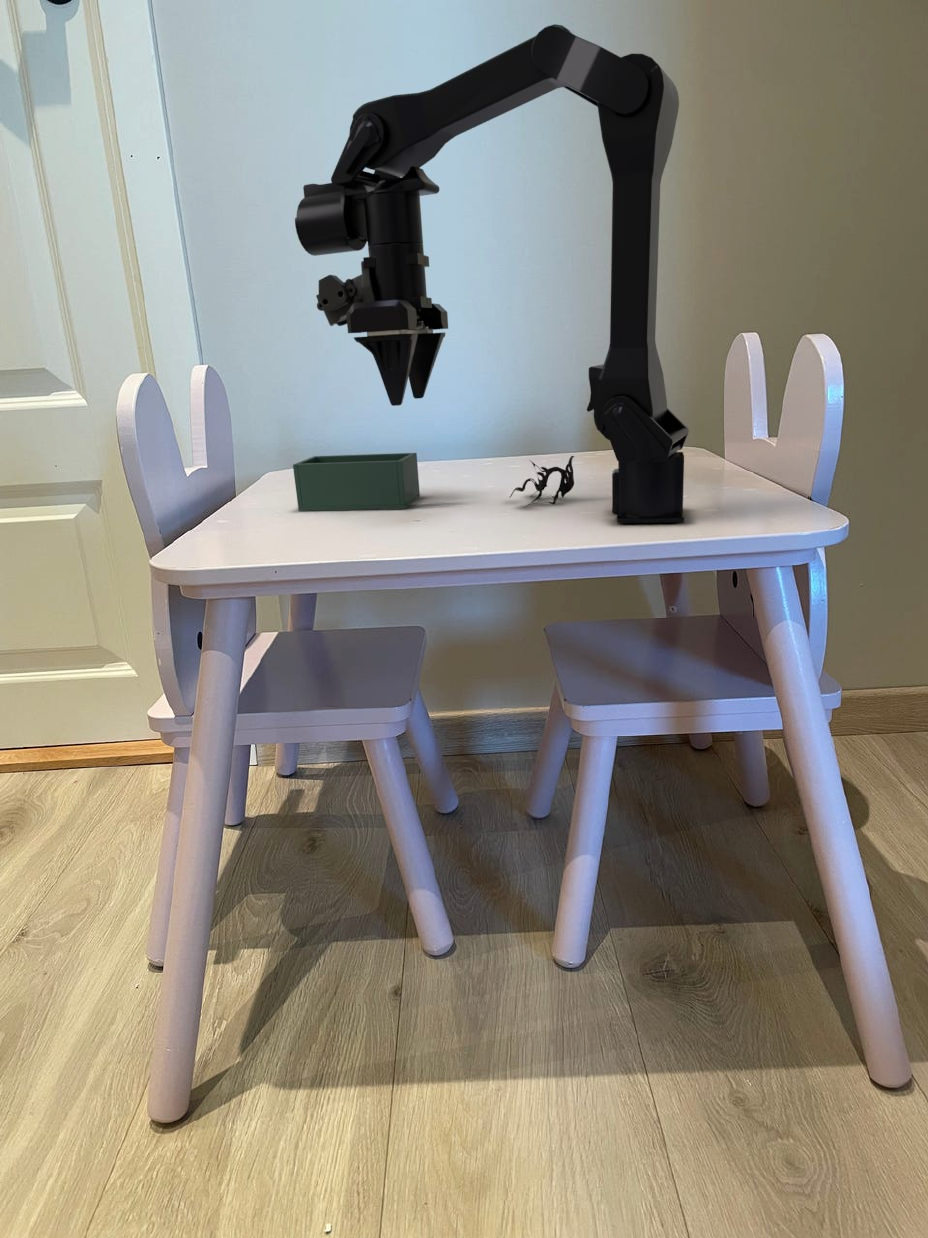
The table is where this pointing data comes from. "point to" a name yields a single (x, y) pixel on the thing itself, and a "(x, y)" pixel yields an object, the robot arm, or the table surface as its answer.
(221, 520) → the table surface
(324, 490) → the bin
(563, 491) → the creature
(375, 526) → the table surface
